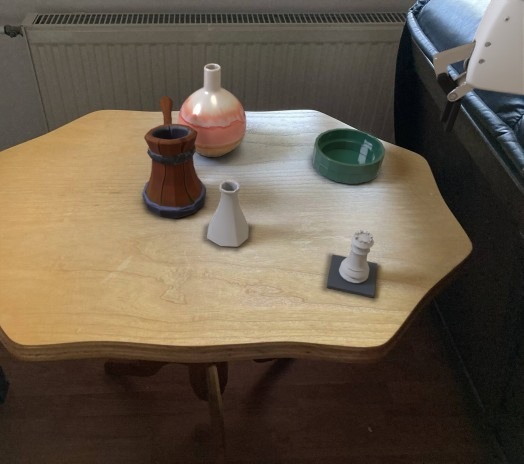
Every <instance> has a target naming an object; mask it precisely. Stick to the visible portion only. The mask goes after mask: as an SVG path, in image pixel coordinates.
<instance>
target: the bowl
mask: <svg viewBox="0 0 524 464" xmlns="http://www.w3.org/2000/svg"><path fill="white" fill-rule="evenodd" d="M385 154H386V147H385V146H384V144H383V142H381V140H379V138H377V136H374V135H372V134H370V133H368V132H367V131H362V130H359V129H354V128H348V127H347V128H345V127H344V128H343V127H342V128H339V127H338V128H333V129H328V130H325V131H323V132H321V133H320V134H319V135H318V136H316V138H315V141H314V145H313V149H312V157H311V163H312V166H313V168H314V169H315V171H317V172H318V173H319V174H320V175H321V176H323V177H325V178H326V179H329V180H331V181H334V182H338V183H342V184H349V185H350V184H351V185H352V184H362V183H367V182H370V181H371V180H374V179H375V178H377V177H378V176H379V174H380V173H381V171H382V166H383V162H384V158H385Z"/></svg>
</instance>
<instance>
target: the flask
mask: <svg viewBox="0 0 524 464" xmlns="http://www.w3.org/2000/svg"><path fill="white" fill-rule="evenodd" d="M239 191H240V183H239V182H237V181H235V180H234V179H233V180H232V179H224V180H223V181H222V182H220V183H219V192H221V193H220V199H219V203H218V205H217V207H216V209H215V211H214V214H213V216H212V218H211V220H210V222H209V224H208V225H207V233H206V234H207V235H206V239H207V240H209V241H211V242H213V243H214V244H216V245H218V246H220V247H232V248H233V247H235V248H236V247H240V246H241V245H242V244H243V243H244V242H245V241H246V240H248V239H249V232H250V231H249V227H250V226H249V223H248V221H247V219H246V217H245V215H244V213H243V210H242V207H241V204H240V202H239V196H238V192H239Z"/></svg>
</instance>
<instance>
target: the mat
mask: <svg viewBox="0 0 524 464" xmlns="http://www.w3.org/2000/svg"><path fill="white" fill-rule="evenodd" d="M347 257H348V256H343V255H338V254H332V255H331V260H330V264H329V265H330V266H329V271H328V277H327V283H326V288H327V289H329V290H335V291H339V292H343V293H348V294H353V295H357V296H361V297H367V298H371V299H375V294H376V293H375V292H376V285H377V284H376V283H377V282H376V281H377V269H378V263H377V262H373V261H368V260H367V263H368V266H369V275H368V278H367V279H366V280H365V281H363V282H360V283H351V282H348V281H346V280H345V279H344V278H343V277H342V276H341V275H340V272H339V268H340V266H341V262H342V261H343V260H344V259H345V258H347Z"/></svg>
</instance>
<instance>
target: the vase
mask: <svg viewBox="0 0 524 464" xmlns="http://www.w3.org/2000/svg"><path fill="white" fill-rule="evenodd" d="M247 123H248V122H247V115H246V111H245V108H244V106H243V104H242V103H241V102H240V100H239V99H238V98H237V96H235V95H234V94H233V93H231V92H230V91H228V90H227V89H225V88H224V87H222V67H221V66H220V65H219V64H218V63H207V64H205V65H204V66H203V87H201V88H199V89H197V90H195V91H194V92H192V93H191V94H190V95H189V96H188V97H187V98H186V100H185V101H183V103H182V105H181V106H180V109H179V112H178V116H177V124H182V125H188V126H190V127H191V128H193V129H194V130H196V131H197V132H198V133H197V137H196V141H195V144H194V145H195V147H196V150H195V153H196V154H198V155H200V156H202V157H207V158H219V157H222V156H224V155H226V154H227V153H230V152H232V151H234V149H236V148H237V147H238V146H239V145H240V144H241V142H242V141H243V139H244V138H245V136H246V132H247Z"/></svg>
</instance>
